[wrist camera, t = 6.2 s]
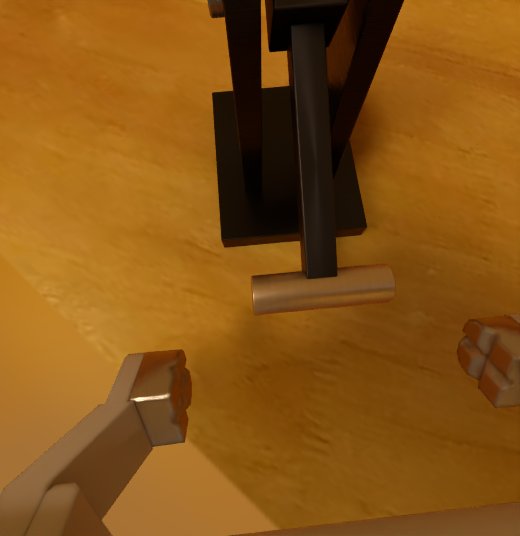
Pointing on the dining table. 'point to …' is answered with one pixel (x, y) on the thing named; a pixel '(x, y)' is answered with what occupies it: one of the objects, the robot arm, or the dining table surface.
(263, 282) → the lever
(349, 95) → the bracket
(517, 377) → the robot arm
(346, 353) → the dining table surface
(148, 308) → the dining table surface
